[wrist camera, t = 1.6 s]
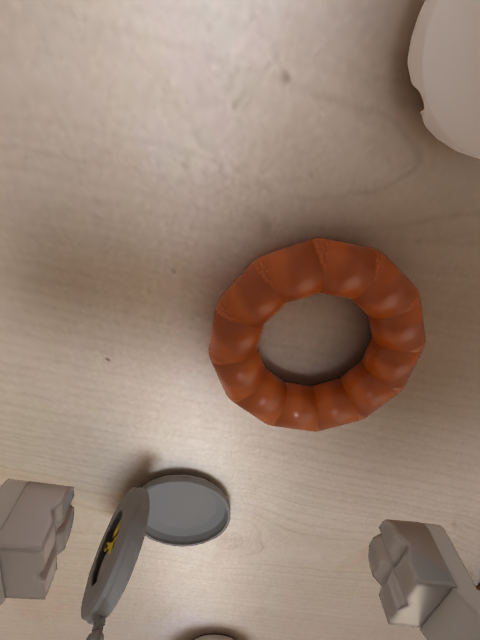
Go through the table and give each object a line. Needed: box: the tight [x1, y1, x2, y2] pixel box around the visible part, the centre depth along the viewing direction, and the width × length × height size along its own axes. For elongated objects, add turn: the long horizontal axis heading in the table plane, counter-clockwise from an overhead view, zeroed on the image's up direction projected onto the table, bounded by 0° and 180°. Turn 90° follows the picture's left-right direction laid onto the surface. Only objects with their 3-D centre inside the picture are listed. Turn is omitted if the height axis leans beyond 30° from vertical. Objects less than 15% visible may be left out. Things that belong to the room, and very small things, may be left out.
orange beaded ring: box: [209, 238, 425, 431], centre depth 19 cm, size 10×10×2 cm
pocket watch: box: [81, 475, 230, 640], centre depth 21 cm, size 8×8×10 cm
